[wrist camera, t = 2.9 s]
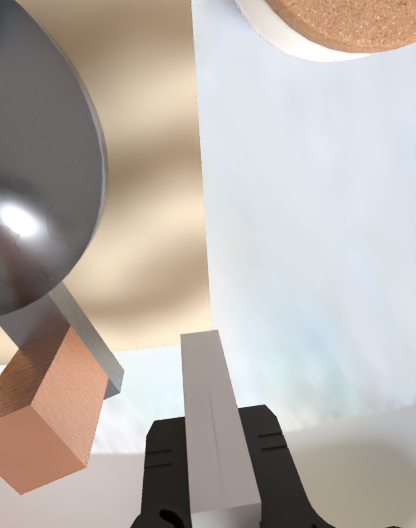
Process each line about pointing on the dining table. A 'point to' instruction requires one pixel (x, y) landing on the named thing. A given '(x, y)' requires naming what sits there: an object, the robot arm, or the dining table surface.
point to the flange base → (139, 170)
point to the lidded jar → (332, 26)
